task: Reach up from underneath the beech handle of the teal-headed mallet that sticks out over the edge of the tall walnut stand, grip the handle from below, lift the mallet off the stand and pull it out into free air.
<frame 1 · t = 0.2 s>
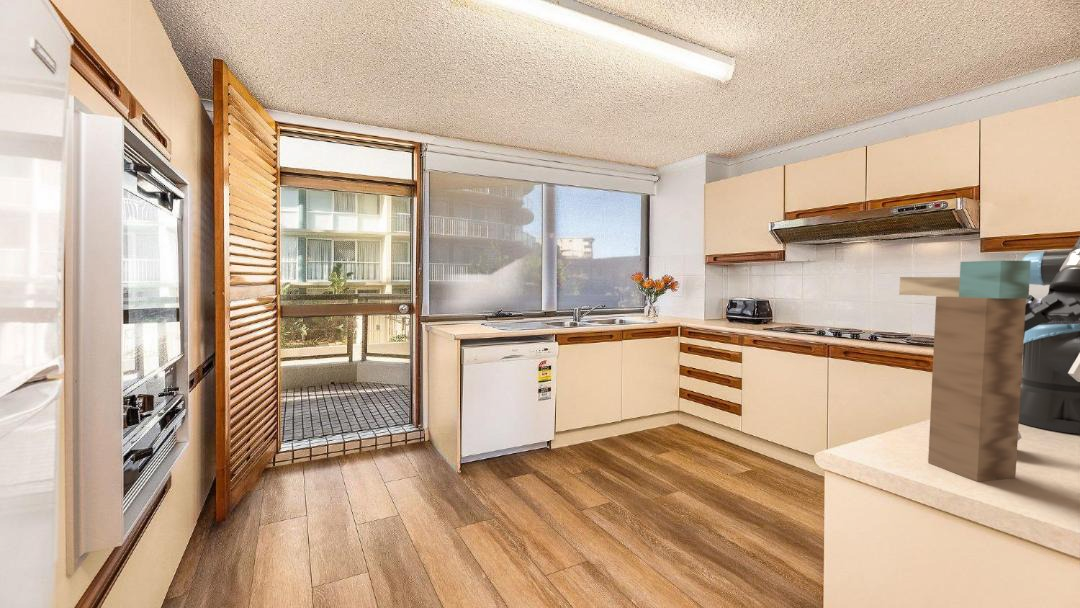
hand: (1029, 371, 88), 16 cm above the counter, tool tilted 35°, fingers open, 13 cm apart
stand: (970, 469, 82), on the counter
mallet: (954, 296, 84), point 30 cm above the counter, touching stand
die: (987, 449, 93), on the counter
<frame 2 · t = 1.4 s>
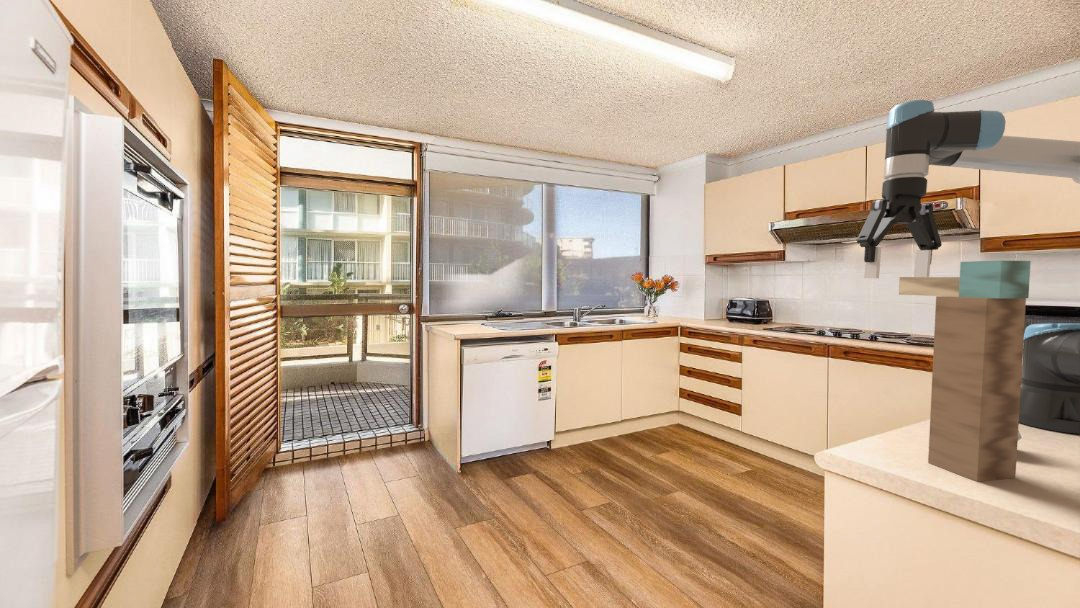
hand: (896, 279, 101), 33 cm above the counter, tool pointing down, fingers open, 13 cm apart
nothing on the counter moved.
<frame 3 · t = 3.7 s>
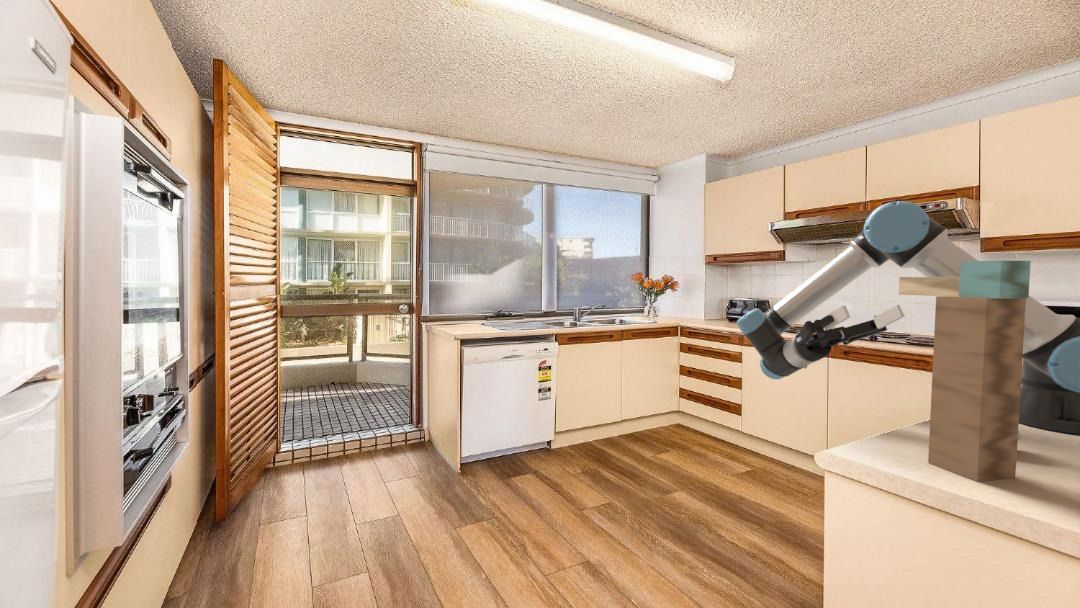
hand: (874, 310, 100), 26 cm above the counter, tool pointing upward, fingers open, 13 cm apart
nothing on the counter moved.
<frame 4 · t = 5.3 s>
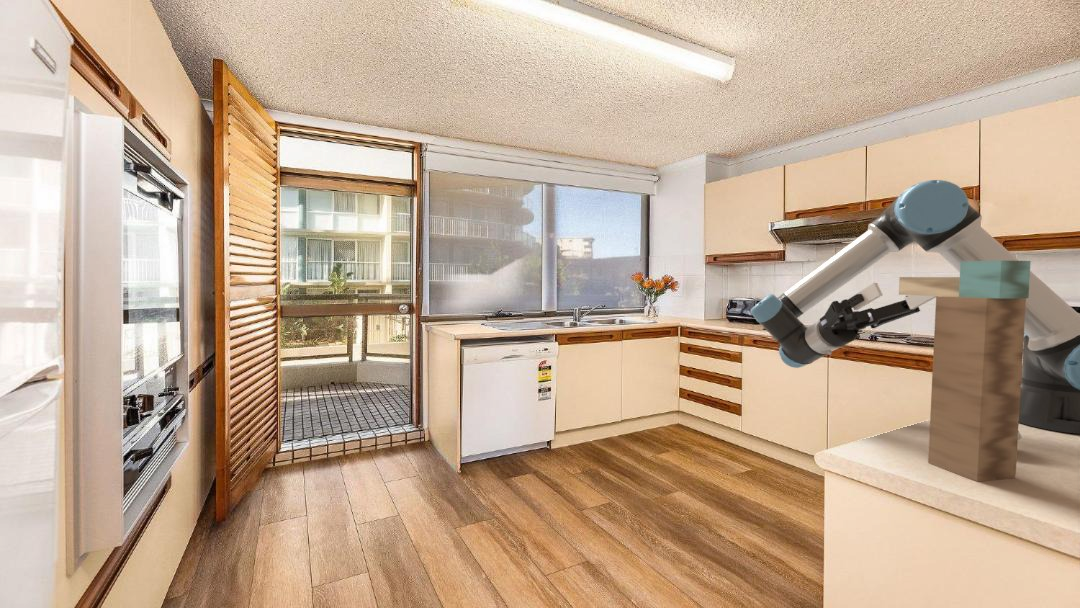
hand: (908, 288, 92), 31 cm above the counter, tool pointing upward, fingers open, 13 cm apart
nothing on the counter moved.
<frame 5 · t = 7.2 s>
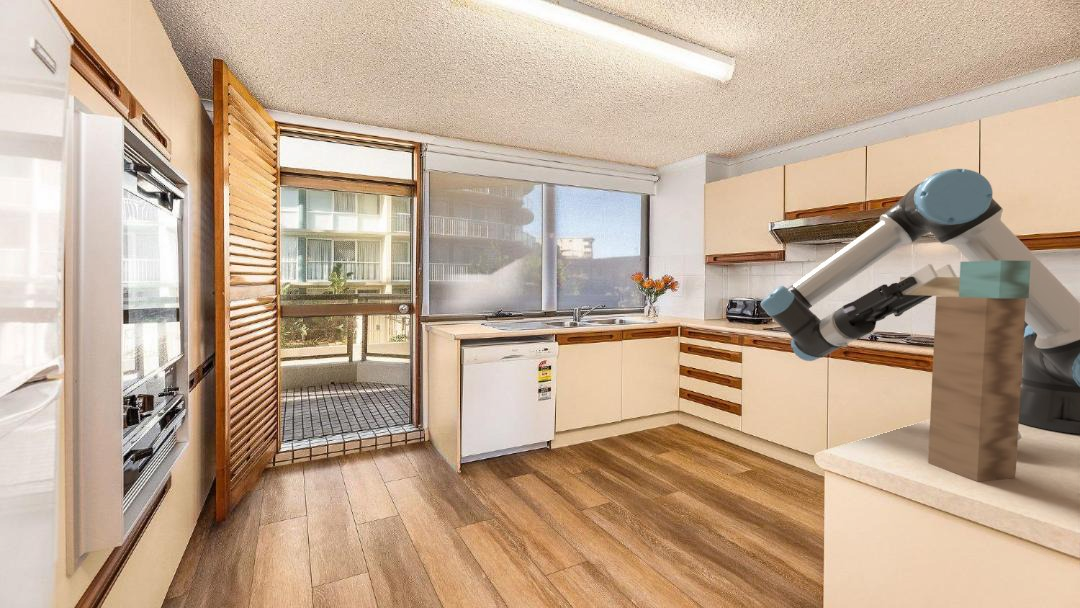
hand: (942, 271, 86), 35 cm above the counter, tool pointing upward, fingers closed on mallet, 3 cm apart
mallet: (954, 296, 84), point 30 cm above the counter, touching gripper, stand
everything else where it was.
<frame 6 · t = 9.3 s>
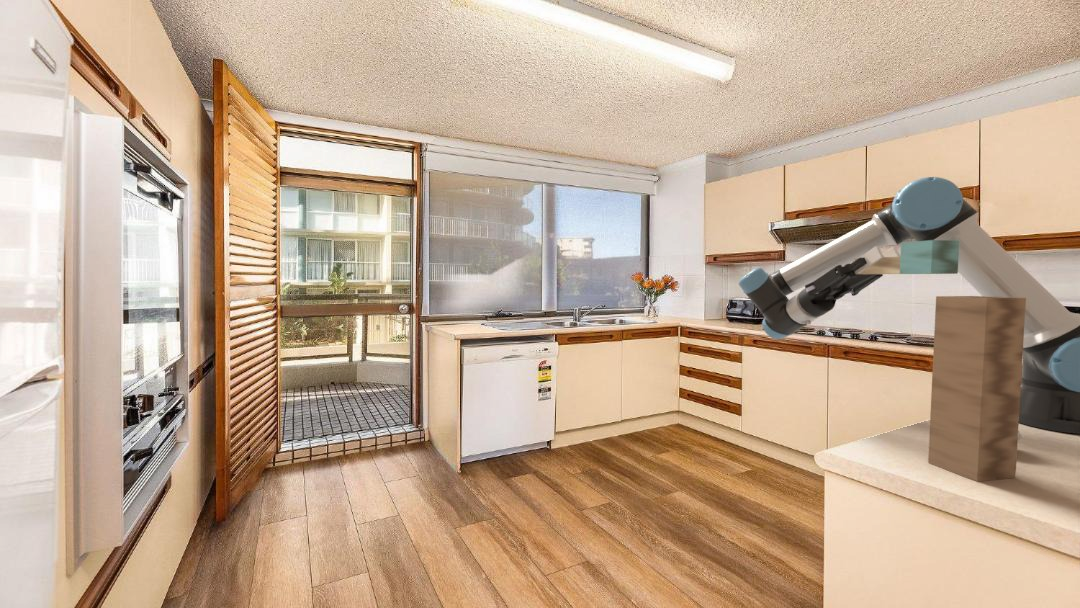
hand: (888, 252, 97), 39 cm above the counter, tool pointing upward, fingers closed on mallet, 3 cm apart
mallet: (897, 274, 95), point 34 cm above the counter, touching gripper
everything else where it was.
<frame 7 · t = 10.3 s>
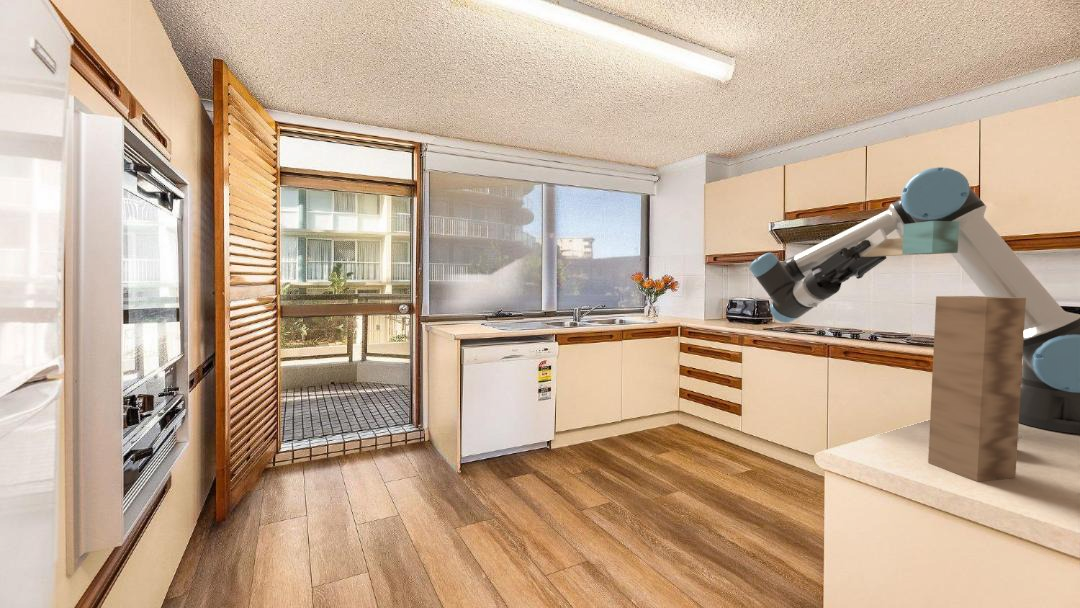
hand: (891, 234, 101), 43 cm above the counter, tool pointing upward, fingers closed on mallet, 3 cm apart
mallet: (900, 254, 99), point 38 cm above the counter, touching gripper
everything else where it was.
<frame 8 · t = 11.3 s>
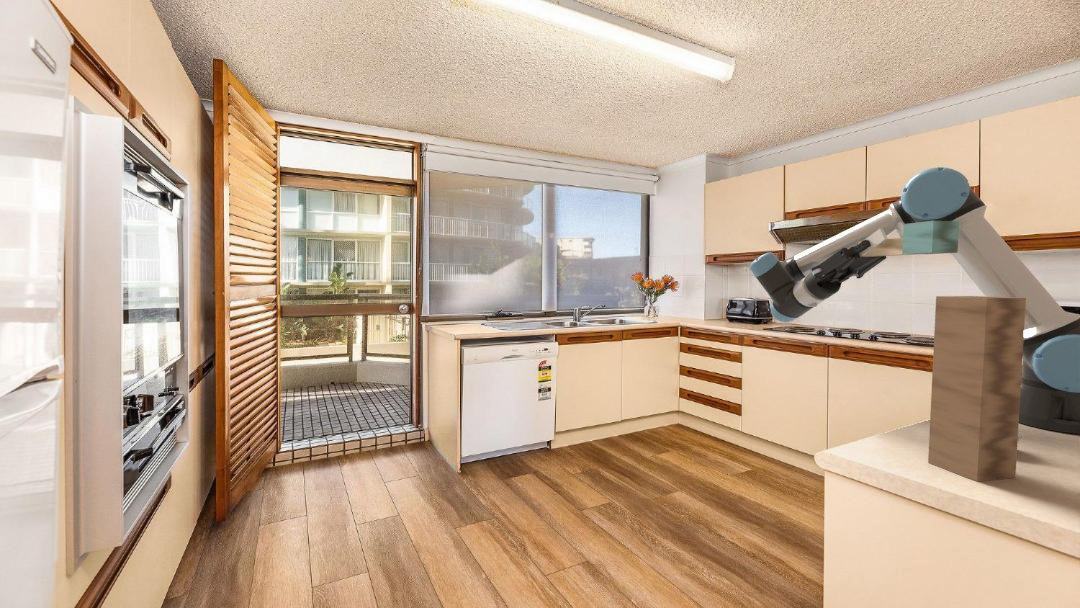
hand: (891, 234, 101), 43 cm above the counter, tool pointing upward, fingers closed on mallet, 3 cm apart
mallet: (900, 254, 99), point 38 cm above the counter, touching gripper
everything else where it was.
at the end: the gripper is holding mallet; mallet touching gripper; mallet inside the target area (6.0 cm from its centre), point 38.1 cm above the counter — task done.
